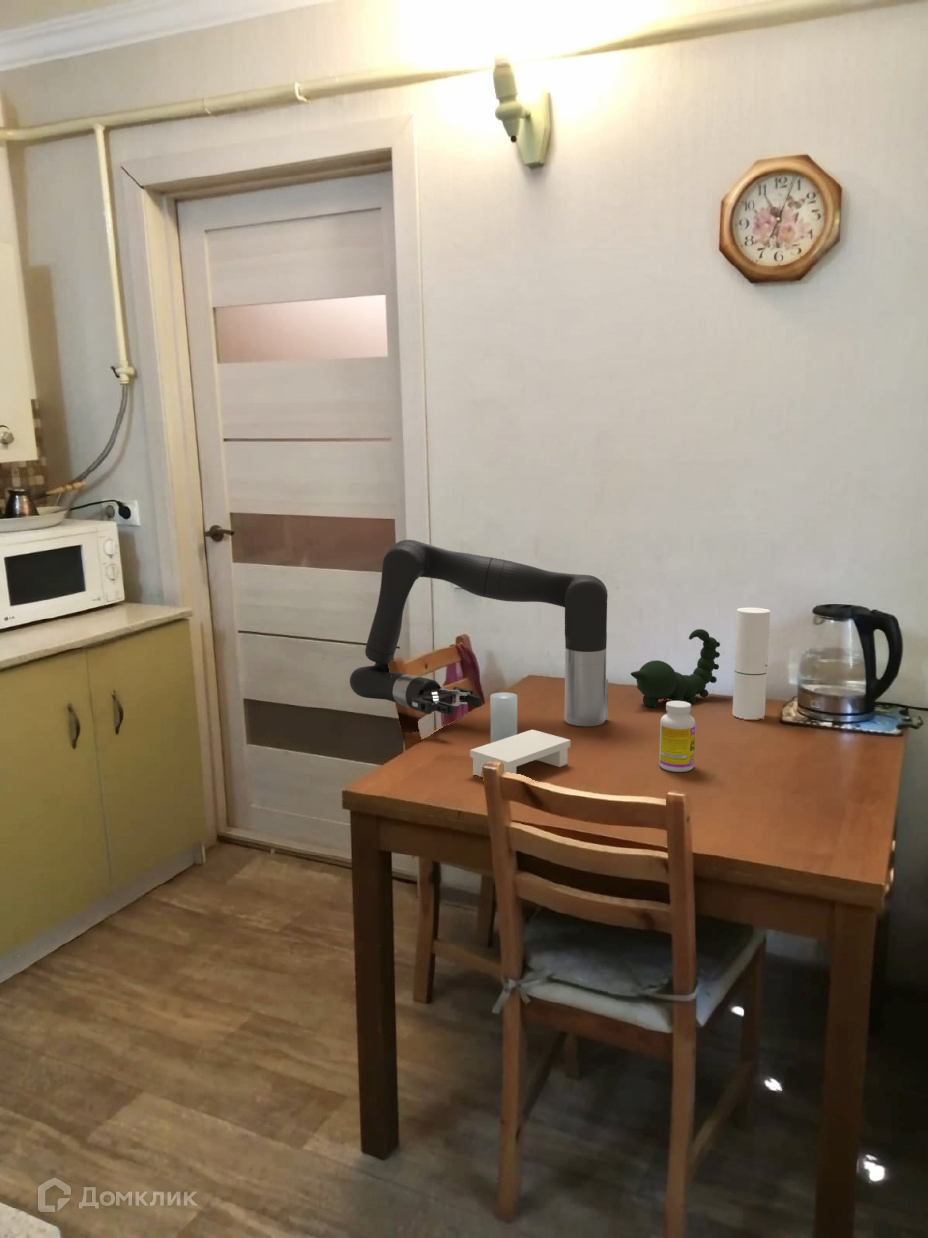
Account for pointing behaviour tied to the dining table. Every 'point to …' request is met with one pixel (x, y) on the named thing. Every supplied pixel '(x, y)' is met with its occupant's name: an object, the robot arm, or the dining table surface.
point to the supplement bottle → (677, 737)
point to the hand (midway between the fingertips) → (466, 706)
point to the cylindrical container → (751, 662)
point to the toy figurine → (678, 676)
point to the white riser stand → (522, 751)
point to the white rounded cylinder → (503, 715)
